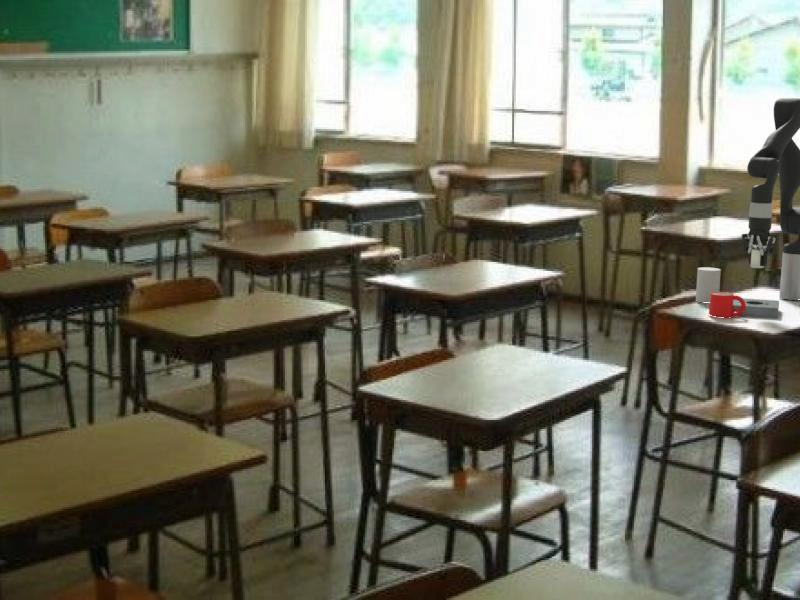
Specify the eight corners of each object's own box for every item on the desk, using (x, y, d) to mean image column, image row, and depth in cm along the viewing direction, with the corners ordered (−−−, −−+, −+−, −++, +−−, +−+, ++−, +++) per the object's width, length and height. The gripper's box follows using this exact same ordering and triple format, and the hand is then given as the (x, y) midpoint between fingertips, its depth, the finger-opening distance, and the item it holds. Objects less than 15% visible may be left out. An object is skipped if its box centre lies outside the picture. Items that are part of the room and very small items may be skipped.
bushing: (756, 265, 456) (757, 248, 455) (766, 267, 452) (767, 249, 451) (747, 266, 453) (748, 249, 452) (757, 268, 450) (758, 250, 449)
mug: (744, 320, 442) (745, 297, 441) (708, 317, 445) (709, 294, 444) (745, 316, 449) (746, 293, 448) (709, 313, 453) (710, 291, 451)
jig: (731, 307, 465) (732, 297, 465) (778, 310, 461) (779, 300, 460) (729, 315, 450) (729, 305, 450) (777, 318, 446) (778, 308, 445)
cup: (720, 303, 472) (722, 270, 470) (698, 303, 472) (700, 270, 470) (715, 299, 480) (717, 267, 478) (693, 299, 480) (695, 267, 478)
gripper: (784, 217, 446) (780, 267, 449) (752, 213, 458) (748, 261, 460) (769, 218, 442) (765, 268, 445) (737, 214, 453) (734, 263, 456)
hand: (757, 264), depth 453 cm, fingers closed on bushing, 4 cm apart
